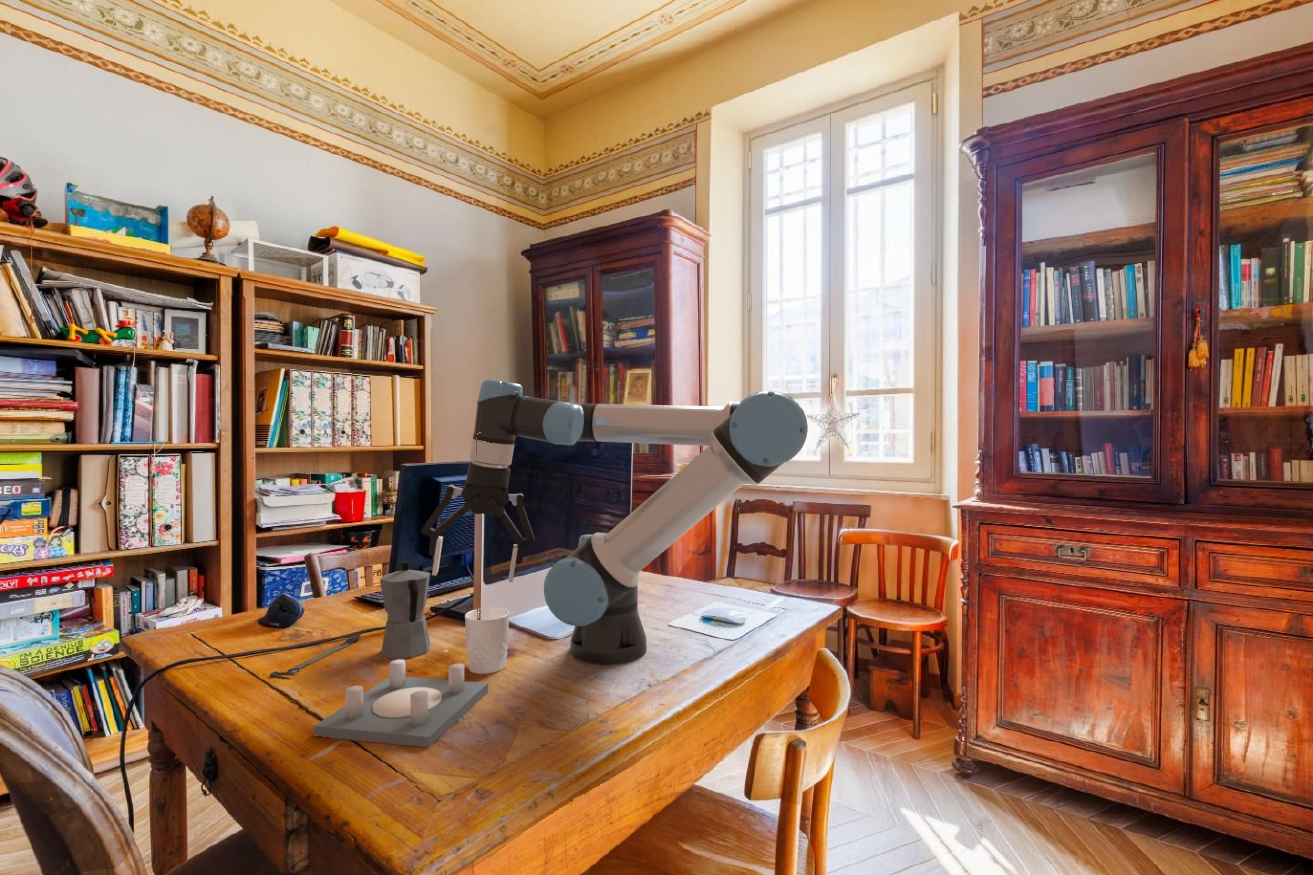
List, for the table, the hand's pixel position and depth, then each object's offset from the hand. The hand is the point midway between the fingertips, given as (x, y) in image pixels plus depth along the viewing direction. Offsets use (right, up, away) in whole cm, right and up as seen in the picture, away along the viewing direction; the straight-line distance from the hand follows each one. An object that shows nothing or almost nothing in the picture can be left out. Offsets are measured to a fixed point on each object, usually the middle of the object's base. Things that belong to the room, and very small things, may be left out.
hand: (473, 576), depth 111 cm
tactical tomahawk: (-30, -17, +5) cm, 35 cm away
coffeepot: (-15, -17, +7) cm, 24 cm away
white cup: (+3, -17, 0) cm, 17 cm away
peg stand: (-5, -17, -18) cm, 25 cm away
